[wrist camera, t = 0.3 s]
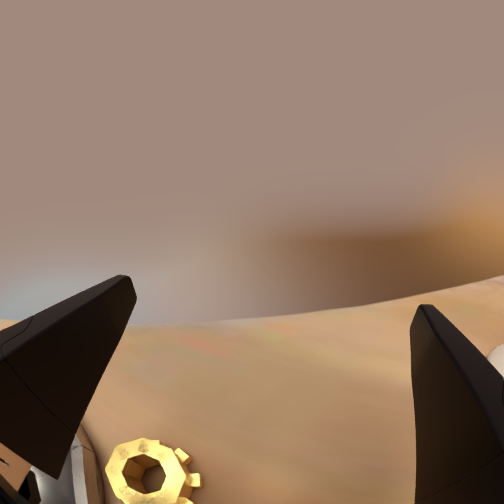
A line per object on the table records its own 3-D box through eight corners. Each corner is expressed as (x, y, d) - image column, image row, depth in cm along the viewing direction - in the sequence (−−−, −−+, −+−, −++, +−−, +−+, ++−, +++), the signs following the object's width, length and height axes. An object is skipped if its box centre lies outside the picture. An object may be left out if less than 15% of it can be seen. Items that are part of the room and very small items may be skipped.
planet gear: (187, 529, 12) (175, 532, 9) (110, 494, 13) (86, 488, 10) (212, 461, 16) (206, 451, 14) (138, 434, 18) (120, 417, 15)
